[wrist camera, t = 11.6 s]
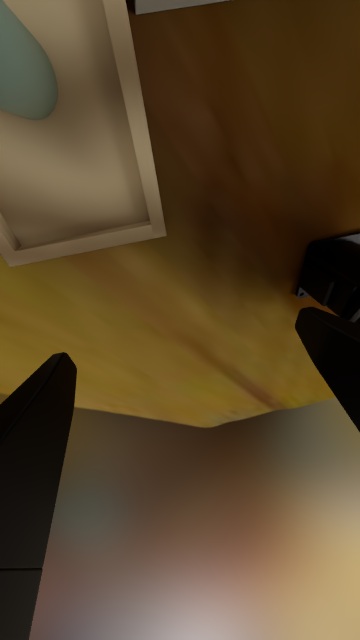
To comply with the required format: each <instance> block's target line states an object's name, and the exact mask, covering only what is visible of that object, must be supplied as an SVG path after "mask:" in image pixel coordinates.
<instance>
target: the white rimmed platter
mask: <svg viewBox="0 0 360 640" xmlns="http://www.w3.org/2000/svg"><path fill="white" fill-rule="evenodd" d="M133 1H134V7H135V13H136V15H137V14H144V13H150V12H157V11H163V10H170V9H176V8H183V7H189V6H196V5H202V4H209V3H215V2H222V1H228V0H133Z"/></svg>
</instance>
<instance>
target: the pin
mask: <svg viewBox="0 0 360 640" xmlns="http://www.w3.org/2000/svg"><path fill="white" fill-rule="evenodd" d="M57 95H58V87H57V80H56V76H55V72H54V69H53V67H52V64H51V62H50V60H49V58H48V56H47V54H46V52H45V51H44V49H43V48H42V46H41V45H40V43H39V42H38V41H37V40H36V39H35V37H34V36H33V35H32V34H31V33H30V32H29V30H28V29H27V28H26V27H25V26H24V25H23V23H22V22H21V21H20V20H19V19H18V18H17V16H16V15H15V14H14V13H13V12H12V11H11V9H10V8H9V7H8V6H7V5H6V3H5V2H4V1H3V0H0V110H3V111H6V112H9V113H12V114H15V115H18V116H21V117H24V118H27V119H31V120H40V119H44V118H46V117H47V116H49V115H50V114H51V113H52V111H53V110H54V108H55V105H56V102H57Z"/></svg>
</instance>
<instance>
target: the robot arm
mask: <svg viewBox="0 0 360 640" xmlns="http://www.w3.org/2000/svg"><path fill="white" fill-rule="evenodd" d="M314 246H315V247H314ZM313 247H314V248H313ZM296 296H297V297H298V298H303V297H307V296H311V297H312V298H314V299H315V300H316V301H317V302H318V303H320V304H321V305H322V306H327V307H328V308H329V309H330V310H332V311H333V312H334V313H335V314H337V315H338V316H339V317H338V316H336V315H333V314H331V313H328V312H325V311H323V310H320V309H317V308H315V307H307V308H302V309H301V310H300V311H299V314H298V317H297V320H296V323H295V329H296V331H297V333H298V335H299V337H300V339H301V341H302V343H303V345H304V347H305V348H306V350H307V352H308V354H309V356H310V358H311V360H312V361H313V363H314V365H315V366H316V368H317V369H318V371H319V372H320V374H321V375H322V377H323V378H324V380H325V381H326V383H327V384H328V386H329V387H330V389H331V390H332V392H333V393H334V395H335V396H336V398H337V399H338V401H339V402H340V404H341V405H342V407H343V408H344V410H345V411H346V413H347V414H348V415H349V417H350V419H351V420H352V421H353V423H354V424H355V426H356V427H357V429H358V430H359V432H360V232H356V233H352V234H347V235H342V236H337V237H332V238H327V239H323V240H318V241H314V242H312V243H310V245H309V246H308V249H307V253H306V257H305V260H304V264H303V268H302V272H301V275H300V279H299V283H298V286H297V290H296ZM76 377H77V368H76V365H75V364H74V362H73V361H72V360H71V358H70V357H69V355H68V354H67V353H65V352H62V353H57V354H53V355H52V356H51V357H50V358H49V359H48V360H47V361H46V362H45V363H43V364H42V365H41V366H40V367H39V368H38V369H37V370H36V371H35V372H34V373H33V374H32V375H31V376H30V377H29V378H28V379H27V380H26V381H25V382H23V383H22V384H21V385H20V386H19V387H18V388H17V389H16V390H15V391H14V392H13V393H12V394H11V395H10V396H9V397H8V398H7V399H6V400H5V401H3V402H2V404H0V640H29V636H30V631H31V626H32V621H33V616H34V610H35V605H36V600H37V595H38V590H39V585H40V580H41V575H42V567H43V564H44V558H45V553H46V549H47V543H48V538H49V533H50V528H51V523H52V518H53V513H54V508H55V502H56V498H57V492H58V487H59V482H60V477H61V472H62V467H63V462H64V457H65V452H66V447H67V442H68V437H69V431H70V427H71V421H72V416H73V410H74V402H75V389H76Z"/></svg>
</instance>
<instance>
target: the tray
mask: <svg viewBox="0 0 360 640" xmlns="http://www.w3.org/2000/svg"><path fill="white" fill-rule="evenodd" d="M3 1H4V2H5V3H6V5H7V6H8V7H9V8H10V9H11V11H12V12H13V13H14V14H15V15H16V16H17V18H18V19H19V20H20V21H21V22H22V23H23V25H24V26H25V27H26V28H27V29H28V30H29V32H30V33H31V34H32V35H33V36H34V37H35V39H36V40H37V41H38V42H39V43H40V45H41V46H42V48H43V49H44V51H45V52H46V54H47V56H48V58H49V60H50V62H51V64H52V67H53V69H54V72H55V76H56V80H57V87H58V95H57V102H56V105H55V108H54V110H53V111H52V113H51V114H50V115H49V116H47V117H46V118H44V119H40V120H31V119H27V118H24V117H21V116H18V115H15V114H12V113H9V112H6V111H3V110H0V254H1V255H2V257H3V258H4V260H5V261H6V262H7V264H8V265H9V266H10V267H13V266H18V265H23V264H28V263H33V262H38V261H43V260H48V259H53V258H58V257H63V256H68V255H73V254H78V253H83V252H88V251H93V250H98V249H103V248H108V247H113V246H118V245H123V244H128V243H133V242H138V241H143V240H148V239H153V238H158V237H163V236H167V235H166V229H165V223H164V217H163V212H162V206H161V200H160V195H159V189H158V183H157V177H156V172H155V166H154V160H153V155H152V149H151V143H150V137H149V132H148V126H147V120H146V115H145V109H144V103H143V97H142V92H141V86H140V80H139V75H138V69H137V63H136V57H135V52H134V46H133V40H132V35H131V29H130V23H129V17H128V12H127V6H126V0H3Z"/></svg>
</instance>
